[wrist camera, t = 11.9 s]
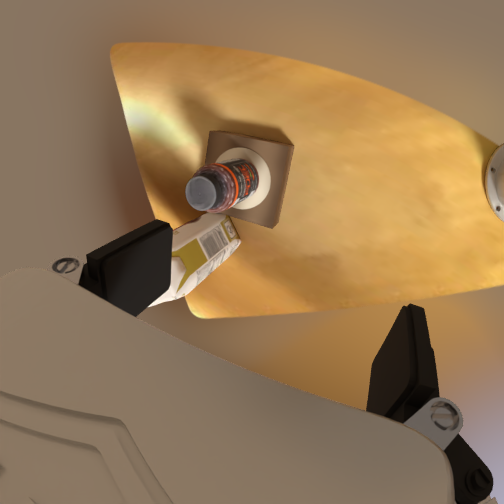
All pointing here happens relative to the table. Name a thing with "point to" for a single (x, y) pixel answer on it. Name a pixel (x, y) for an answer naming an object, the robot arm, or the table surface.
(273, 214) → the walnut stand
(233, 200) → the supplement bottle
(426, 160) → the table surface
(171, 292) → the juice carton
